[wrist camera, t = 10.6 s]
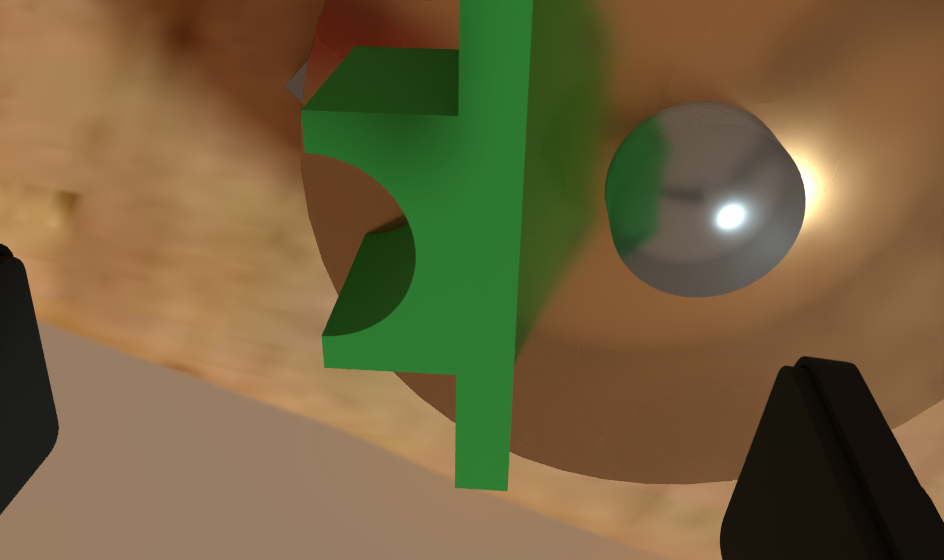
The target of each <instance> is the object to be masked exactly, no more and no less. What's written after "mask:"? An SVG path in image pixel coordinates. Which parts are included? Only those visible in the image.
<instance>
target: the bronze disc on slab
mask: <svg viewBox="0 0 944 560" xmlns="http://www.w3.org/2000/svg"><path fill="white" fill-rule="evenodd" d="M354 46H370V47H400V48H429V49H459V0H326V3H325V5H324V8H323V10H322V13H321V15H320V18H319V21H318V25H317V29H316V33H315V37H314V41H313V45H312V49H311V53H310V57H309V60H308V61H307V62H306V63H305V64H304V65H303V66H302V67H301V68H300V69H299V70H298V71H297V72H296V74H295V75H294V76H293V77H292V78H291V79H290V80H289V81H288V82H287V83H286V84H285V85H284V86H285V87H286V88H287V89H288V90H289V91H290V92H291V93H292V94H293V95H294V96H295V97H296V98H297V99H298V100H299V101H301V102H302V108H303V107H304V106H305V105H306V103H307V102H308V101H309V100H310V99H311V98H312V96H313V95H314V94H315V93H316V92H317V90H318V89H319V88H320V87H321V86H322V84H323V83H324V82H325V81H326V80H327V79H328V77H329V76H330V75H331V74H332V73H333V71H334V70H335V69H336V68H337V67H338V65H339V64H340V63H341V62H342V61H343V60H344V58H345V57H346V56H347V55H348V54H349V52H350V51H351V50H352V49H353V48H354ZM300 133H301V169H302V177H303V183H304V189H305V195H306V201H307V207H308V213H309V219H310V222H311V225H312V228H313V232H314V235H315V238H316V241H317V245H318V248H319V251H320V254H321V258H322V261H323V263H324V265H325V267H326V269H327V272H328V274H329V276H330V278H331V280H332V283H333V285H334V287H335V289H336V291H337V293H338V296H339V294H340V292H341V290H342V287H343V285H344V283H345V280H346V278H347V276H348V273H349V271H350V268H351V266H352V264H353V261H354V259H355V257H356V254H357V252H358V250H359V247H360V245H361V243H362V240H363V238H364V236H365V234H377V233H384V232H389V231H392V230H395V229H398V228H400V227H403V226H405V225H407V224H408V223H409V222H408V220H407V218H406V216H405V214H404V212H403V210H402V209H401V207H400V206H399V204H398V203H397V201H396V200H395V199H394V198H393V196H392V195H391V194H390V193H389V192H388V191H387V190H386V189H385V188H384V187H383V186H382V185H381V184H380V183H379V182H378V181H376V180H375V179H374V178H373V177H371V176H370V175H368V174H367V173H365V172H364V171H362V170H361V169H359V168H357V167H355V166H353V165H351V164H349V163H346V162H344V161H341V160H339V159H335V158H332V157H329V156H324V155H319V154H311V153H305V149H304V138H303V128H302V117H301V120H300ZM803 356H809V357H816V358H823V359H830V360H837V361H845V362H850V363H853V364H855V365H856V367H857V368H858V369H859V371H860V373H861V375H862V377H863V379H864V380H865V382H866V384H867V386H868V388H869V390H870V392H871V394H872V395H873V397H874V399H875V401H876V403H877V405H878V407H879V409H880V410H881V412H882V414H883V416H884V418H885V420H886V422H887V424H888V425H889V427H890V429H891V430H892V429H894V428H896V427H898V426H900V425H902V424H904V423H905V422H907V421H909V420H910V419H912V418H913V417H915V416H917V415H918V414H920V413H922V412H923V411H925V410H926V409H928V408H930V407H931V406H933V405H935V404H936V403H938V402H939V401H941V400H943V399H944V0H533V11H532V30H531V49H530V68H529V87H528V106H527V125H526V145H525V164H524V183H523V202H522V221H521V240H520V259H519V278H518V297H517V317H516V336H515V355H514V374H513V393H512V412H511V431H510V450H509V451H510V452H512V453H514V454H517V455H519V456H521V457H523V458H526V459H529V460H532V461H535V462H539V463H542V464H545V465H548V466H551V467H554V468H557V469H560V470H563V471H568V472H573V473H578V474H582V475H587V476H592V477H596V478H601V479H608V480H617V481H626V482H635V483H644V484H696V483H708V482H720V481H732V480H737V479H738V478H739V476H740V473H741V470H742V468H743V465H744V462H745V460H746V457H747V454H748V452H749V449H750V446H751V444H752V441H753V438H754V436H755V433H756V430H757V427H758V425H759V422H760V419H761V417H762V414H763V411H764V409H765V406H766V403H767V401H768V398H769V395H770V393H771V390H772V387H773V385H774V382H775V379H776V377H777V374H778V372H779V370H780V369H781V368H782V367H783V366H785V365H787V366H794V365H795V363H796V362H797V361H798V360H799V358H801V357H803ZM393 372H394V371H393ZM394 373H395V374H396V375H397V376H398V377H399V378H400V379H401V380H402V381H404V382H405V383H406V384H407V385H408V386H409V387H410V388H411V389H412V390H413V391H414V392H415V393H416V394H417V395H418V396H419V397H421V398H422V399H423V400H425V401H426V402H427V403H429V404H430V405H431V406H433V407H434V408H435V409H437V410H438V411H439V412H441V413H442V414H443V415H445V416H446V417H447V418H449V419H450V420H451V421H453V422H455V423H456V375H447V374H429V373H411V372H394Z"/></svg>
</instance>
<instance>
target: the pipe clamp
mask: <svg viewBox="0 0 944 560" xmlns="http://www.w3.org/2000/svg"><path fill="white" fill-rule="evenodd" d="M532 11H533V0H459V49H429V48H400V47H370V46H354V48H353V49H352V50H351V51H350V52H349V54H348V55H347V56H346V57H345V58H344V60H343V61H342V62H341V63H340V64H339V65H338V67H337V68H336V69H335V70H334V71H333V73H332V74H331V75H330V76H329V77H328V79H327V80H326V81H325V82H324V83H323V84H322V86H321V87H320V88H319V89H318V90H317V92H316V93H315V94H314V95H313V96H312V98H311V99H310V100H309V101H308V102H307V103H306V105H305V106H304V107H303V108H302V109H301V117H302V128H303V138H304V149H305V153H311V154H319V155H324V156H329V157H332V158H335V159H339V160H341V161H344V162H346V163H349V164H351V165H353V166H355V167H357V168H359V169H361V170H362V171H364V172H365V173H367V174H368V175H370V176H371V177H373V178H374V179H375V180H376V181H378V182H379V183H380V184H381V185H382V186H383V187H384V188H385V189H386V190H387V191H388V192H389V193H390V194H391V195H392V196H393V198H394V199H395V200H396V201H397V203H398V204H399V206H400V207H401V209H402V210H403V212H404V214H405V216H406V218H407V220H408V222H409V223H408V224H407V225H405V226H403V227H400V228H398V229H395V230H392V231H389V232H384V233H377V234H365V236H364V238H363V240H362V243H361V245H360V247H359V250H358V252H357V254H356V257H355V259H354V261H353V264H352V266H351V268H350V271H349V273H348V276H347V278H346V280H345V283H344V285H343V287H342V290H341V292H340V294H339V297H338V299H337V301H336V304H335V306H334V308H333V311H332V313H331V315H330V318H329V320H328V322H327V325H326V327H325V329H324V332H323V334H322V345H323V356H324V367H325V368H341V369H359V370H376V371H394V372H411V373H429V374H447V375H456V452H455V488H467V489H482V490H498V491H507V489H508V469H509V450H510V431H511V412H512V393H513V374H514V355H515V336H516V317H517V297H518V278H519V259H520V240H521V221H522V202H523V183H524V164H525V145H526V125H527V106H528V87H529V68H530V49H531V30H532Z"/></svg>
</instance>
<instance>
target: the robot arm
mask: <svg viewBox="0 0 944 560" xmlns="http://www.w3.org/2000/svg"><path fill="white" fill-rule="evenodd" d="M58 430H59V426H58V419H57V414H56V409H55V404H54V400H53V395H52V391H51V386H50V381H49V376H48V372H47V367H46V363H45V358H44V353H43V349H42V344H41V340H40V335H39V330H38V325H37V321H36V316H35V311H34V307H33V302H32V297H31V293H30V288H29V283H28V279H27V274H26V270H25V267H24V264H23V263H22V262H21V260H19V259H17V258H15V257H13V254H12V252H11V251H10V250H9V248H8V247H7V246H5V245H3V244H0V515H1V513H2V512H3V511H4V509H5V508H6V507H7V506H8V505H9V503H10V502H11V501H12V500H13V498H14V497H15V496H16V495H17V493H18V492H19V491H20V490H21V488H22V487H23V486H24V485H25V484H26V482H27V481H28V480H29V479H30V477H31V476H32V475H33V474H34V472H35V471H36V470H37V469H38V467H39V466H40V465H41V464H42V462H43V461H44V460H45V459H46V457H47V456H48V455H49V454H50V452H51V451H52V449H53V447H54V445H55V443H56V440H57V436H58ZM720 548H721V555H722V559H723V560H944V522H943V520H942V519H941V517H940V515H939V513H938V511H937V509H936V507H935V506H934V504H933V502H932V500H931V498H930V497H929V496H928V494H927V493H926V492H925V490H924V489H923V488H922V487H921V485H920V483H919V482H918V480H917V478H916V476H915V474H914V472H913V470H912V468H911V467H910V465H909V463H908V461H907V459H906V457H905V455H904V453H903V452H902V450H901V448H900V446H899V444H898V442H897V440H896V438H895V437H894V435H893V433H892V431H891V429H890V427H889V425H888V424H887V422H886V420H885V418H884V416H883V414H882V412H881V410H880V409H879V407H878V405H877V403H876V401H875V399H874V397H873V395H872V394H871V392H870V390H869V388H868V386H867V384H866V382H865V380H864V379H863V377H862V375H861V373H860V371H859V369H858V368H857V367H856V365H855V364H853V363H850V362H845V361H837V360H830V359H823V358H816V357H809V356H803V357H801V358H799V360H798V361H797V362H796V363H795V365H794V366H787V365H785V366H783V367H782V368H781V369H780V370H779V372H778V374H777V377H776V379H775V382H774V385H773V387H772V390H771V393H770V395H769V398H768V401H767V403H766V406H765V409H764V411H763V414H762V417H761V419H760V422H759V425H758V427H757V430H756V433H755V436H754V438H753V441H752V444H751V446H750V449H749V452H748V454H747V457H746V460H745V462H744V465H743V468H742V470H741V473H740V476H739V478H738V481H737V484H736V486H735V489H734V492H733V494H732V497H731V500H730V502H729V505H728V508H727V510H726V513H725V516H724V518H723V522H722V526H721V532H720Z"/></svg>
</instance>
